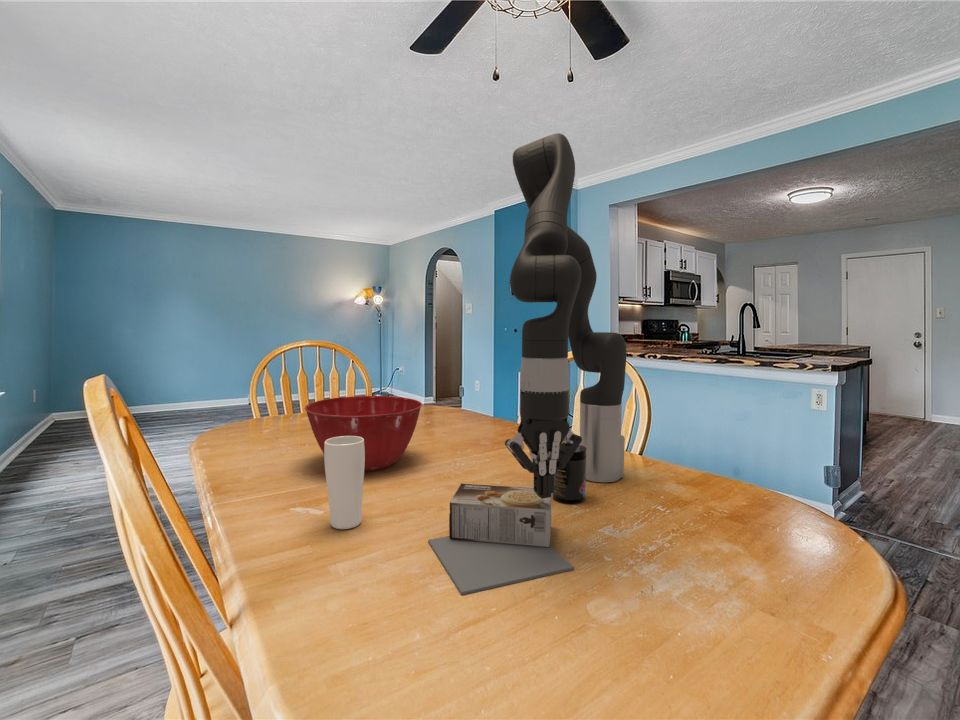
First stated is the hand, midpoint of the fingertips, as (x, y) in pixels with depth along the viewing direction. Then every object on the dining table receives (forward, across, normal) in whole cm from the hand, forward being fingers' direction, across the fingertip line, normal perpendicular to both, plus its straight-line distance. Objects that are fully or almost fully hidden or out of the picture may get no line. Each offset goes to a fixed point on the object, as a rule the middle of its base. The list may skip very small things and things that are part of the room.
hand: (543, 496), depth 73 cm
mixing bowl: (+8, +20, -55) cm, 59 cm away
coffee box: (+4, -3, -2) cm, 5 cm away
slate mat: (+8, +8, 0) cm, 11 cm away
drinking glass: (+8, +28, -20) cm, 35 cm away
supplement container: (+8, -15, -16) cm, 23 cm away
